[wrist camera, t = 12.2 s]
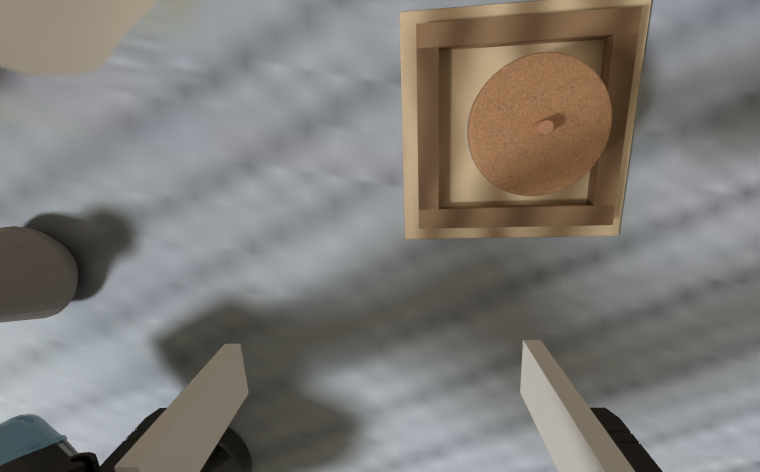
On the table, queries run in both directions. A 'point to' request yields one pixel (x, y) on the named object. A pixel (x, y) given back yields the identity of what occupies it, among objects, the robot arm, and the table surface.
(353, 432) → the table surface
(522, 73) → the lidded jar
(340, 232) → the table surface
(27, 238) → the coffee pot
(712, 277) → the table surface
